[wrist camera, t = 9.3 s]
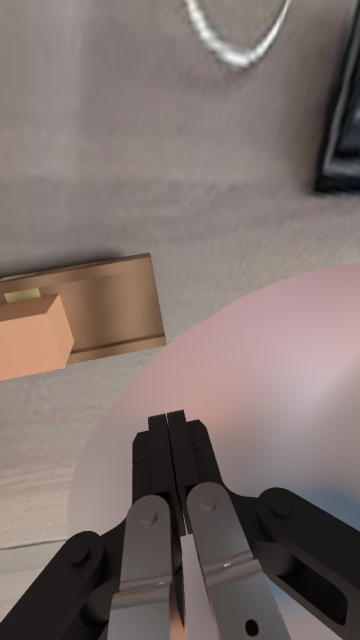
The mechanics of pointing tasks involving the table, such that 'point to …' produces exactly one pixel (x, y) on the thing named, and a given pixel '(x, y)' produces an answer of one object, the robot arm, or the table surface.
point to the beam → (99, 304)
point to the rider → (33, 337)
